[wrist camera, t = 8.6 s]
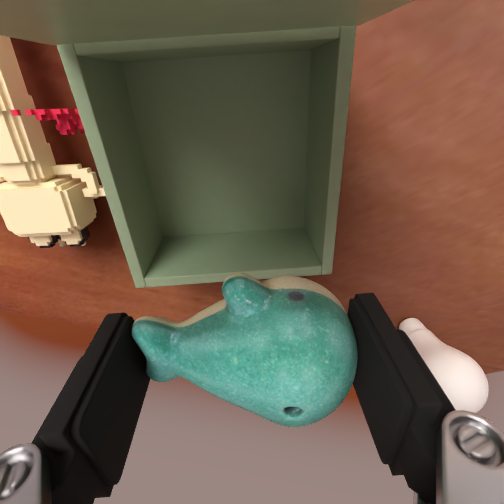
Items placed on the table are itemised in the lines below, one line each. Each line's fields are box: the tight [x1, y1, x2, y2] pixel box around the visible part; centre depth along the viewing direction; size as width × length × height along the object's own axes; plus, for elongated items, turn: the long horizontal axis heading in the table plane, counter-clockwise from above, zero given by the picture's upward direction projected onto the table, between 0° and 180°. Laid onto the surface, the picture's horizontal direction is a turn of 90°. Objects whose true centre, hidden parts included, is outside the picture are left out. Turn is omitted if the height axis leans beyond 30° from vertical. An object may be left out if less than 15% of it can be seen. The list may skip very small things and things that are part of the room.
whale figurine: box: [132, 273, 358, 427], centre depth 10 cm, size 6×7×4 cm
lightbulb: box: [399, 318, 489, 413], centre depth 30 cm, size 6×6×11 cm
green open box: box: [57, 26, 356, 288], centre depth 21 cm, size 15×15×7 cm
